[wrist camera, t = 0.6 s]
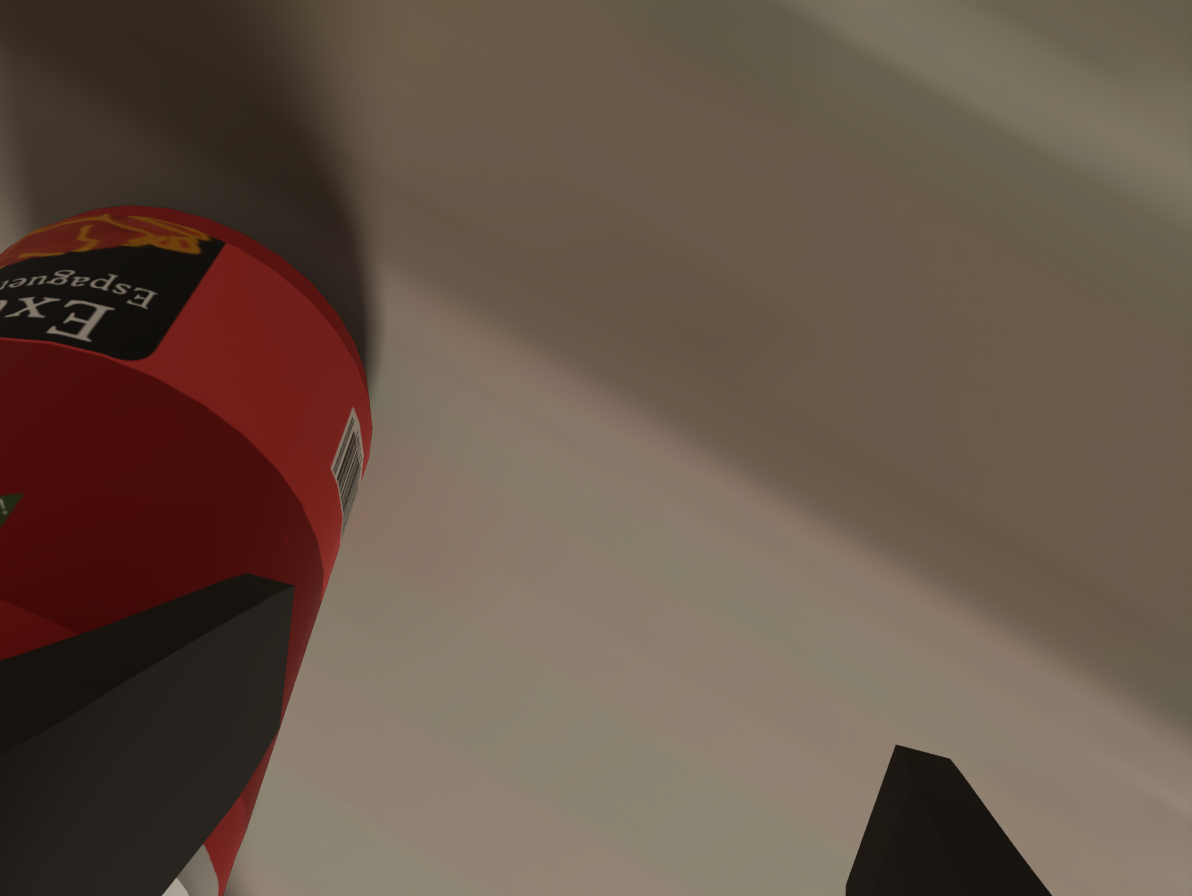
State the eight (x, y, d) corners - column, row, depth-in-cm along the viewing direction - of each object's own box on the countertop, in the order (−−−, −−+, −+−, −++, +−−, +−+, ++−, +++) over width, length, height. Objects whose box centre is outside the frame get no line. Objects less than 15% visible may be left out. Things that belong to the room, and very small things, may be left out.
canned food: (195, 115, 18) (-213, 598, 10) (460, 439, 23) (332, 970, 14) (-93, 296, 21) (-607, 796, 13) (192, 555, 25) (-50, 1056, 17)
